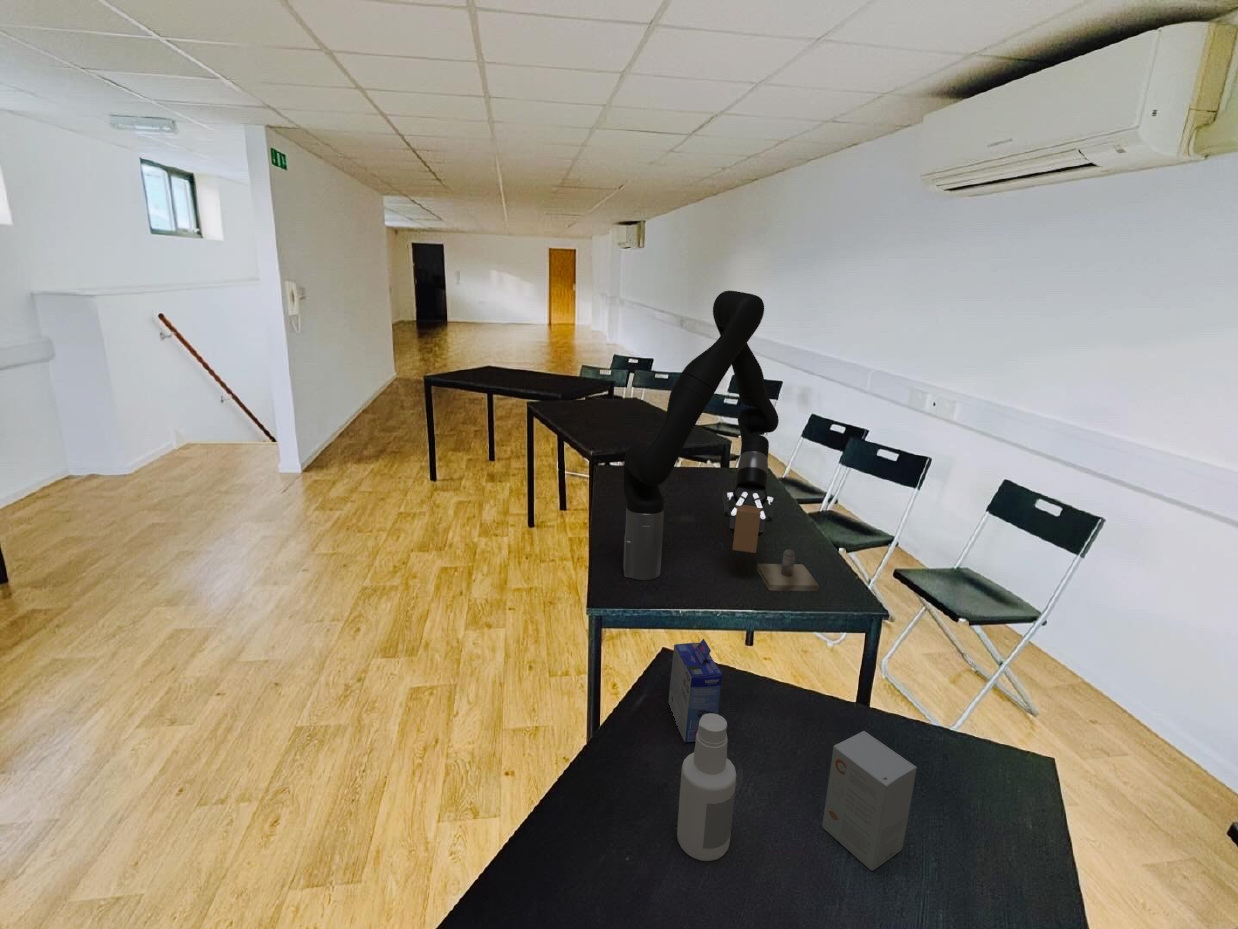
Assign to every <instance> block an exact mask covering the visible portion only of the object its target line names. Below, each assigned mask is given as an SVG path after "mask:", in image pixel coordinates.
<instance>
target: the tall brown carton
mask: <svg viewBox="0 0 1238 929" xmlns="http://www.w3.org/2000/svg"><path fill="white" fill-rule="evenodd" d="M760 515H761V508H757V507H756V506H750V505H741V506H739V505H737V512H736V522H735V531H734V533H733V541H732V542H733V543H732V551H738V552H746V553H752V554H753V553H754V554H757V547H758V539H759V536H758V532H759V523H760Z"/></svg>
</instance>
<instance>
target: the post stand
mask: <svg viewBox="0 0 1238 929" xmlns="http://www.w3.org/2000/svg"><path fill="white" fill-rule="evenodd" d="M782 555H783V556H782V563H757V564H756V571H757V573H758V574H759V576H760V578H761V579H762V581H763V583H764V584H765V586H766V588H767V589H768V591H774V592H775V591H778V592H779V591H781V592H784V591H785V592H787V591H788V592H792V591H793V592H818V591H819V587H820V585H819V583H818V582H817V581H816V579H815V578H814V577H813V576H812V574H811V573H810V571H809V570H808V569H807V567H806V566H805V565H804V564H802V563H799V564H798V563H797V564H795V559H796V553H795V551H794V550H792V549H790V548H789V549H786V550H784V551H783V554H782Z"/></svg>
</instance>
